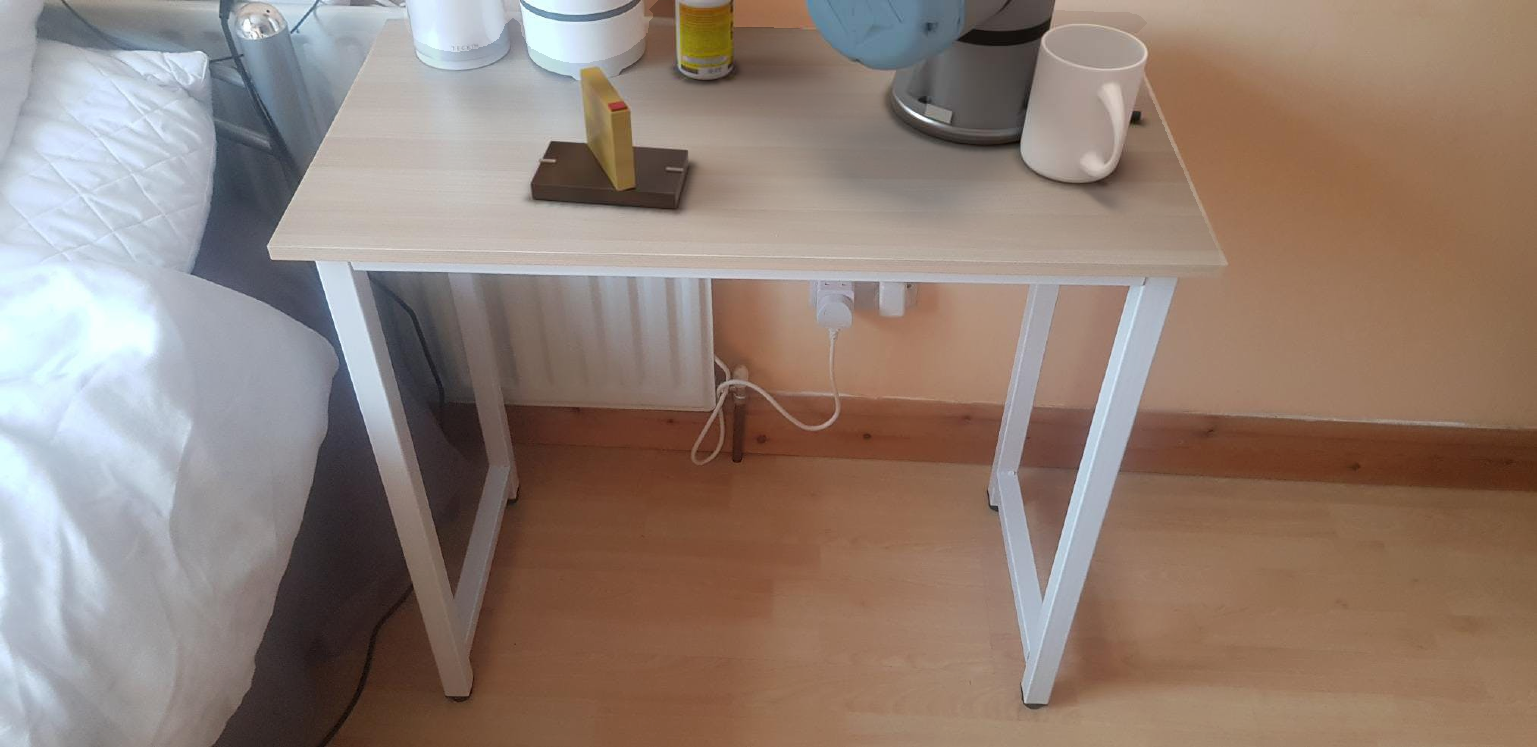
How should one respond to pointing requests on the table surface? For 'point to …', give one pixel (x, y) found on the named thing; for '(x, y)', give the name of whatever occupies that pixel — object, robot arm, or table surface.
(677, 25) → the supplement bottle
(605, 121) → the lock turn
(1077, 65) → the mug
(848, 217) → the table surface
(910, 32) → the robot arm
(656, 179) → the panel
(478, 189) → the table surface
